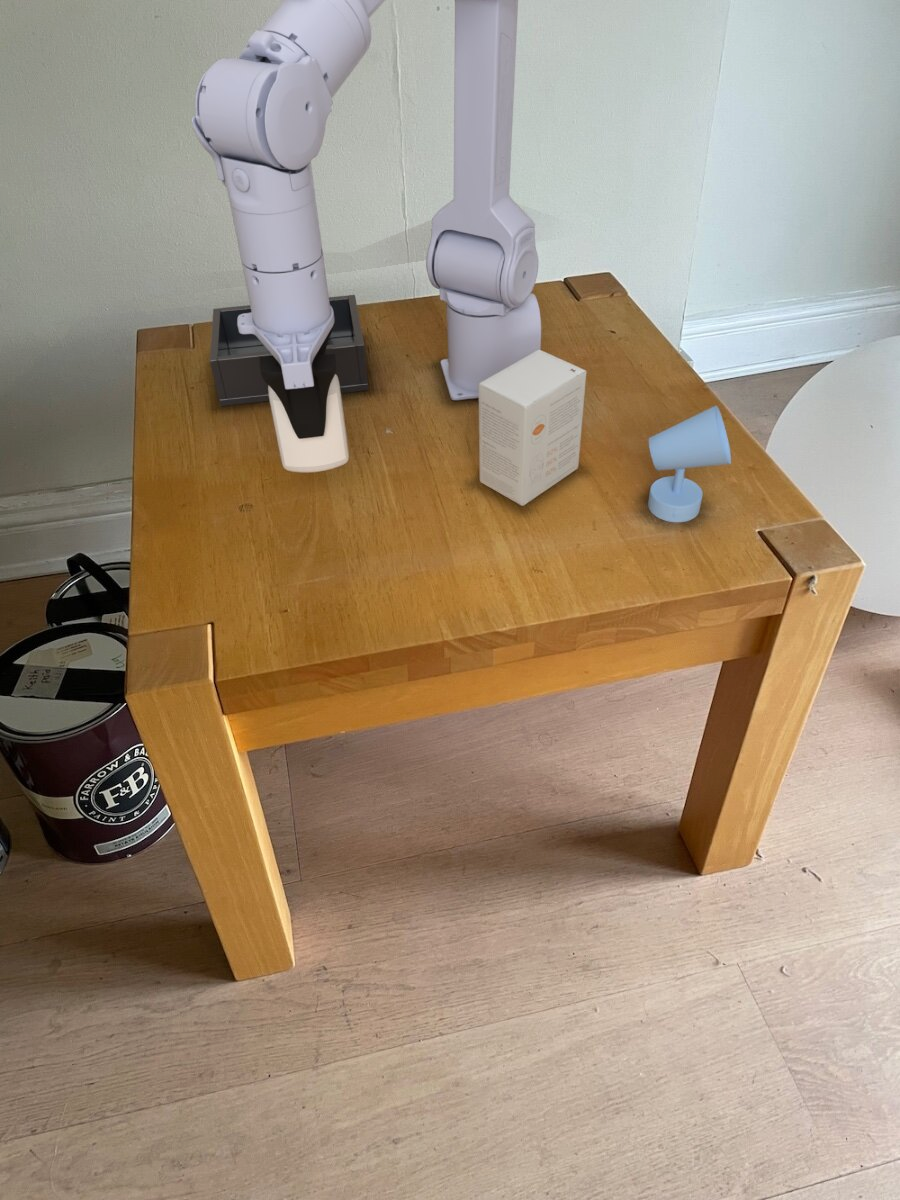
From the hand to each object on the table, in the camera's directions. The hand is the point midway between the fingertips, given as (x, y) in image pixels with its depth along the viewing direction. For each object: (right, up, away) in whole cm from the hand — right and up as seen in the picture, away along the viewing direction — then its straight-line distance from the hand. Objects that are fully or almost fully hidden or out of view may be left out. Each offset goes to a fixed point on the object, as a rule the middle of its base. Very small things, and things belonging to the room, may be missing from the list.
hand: (309, 421), depth 72 cm
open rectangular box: (-6, +11, +26) cm, 28 cm away
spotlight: (+32, -6, +7) cm, 33 cm away
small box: (+19, -3, +11) cm, 22 cm away
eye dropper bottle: (0, -3, +3) cm, 4 cm away
